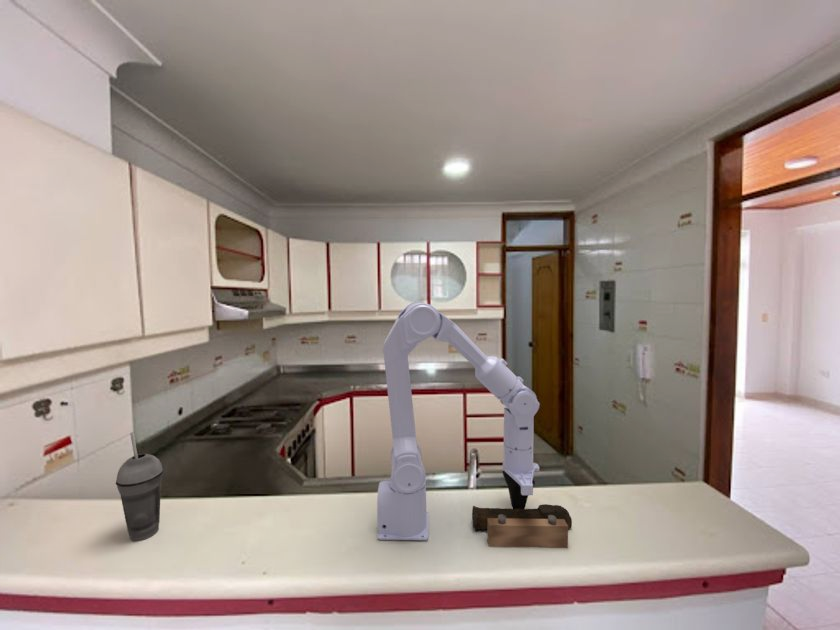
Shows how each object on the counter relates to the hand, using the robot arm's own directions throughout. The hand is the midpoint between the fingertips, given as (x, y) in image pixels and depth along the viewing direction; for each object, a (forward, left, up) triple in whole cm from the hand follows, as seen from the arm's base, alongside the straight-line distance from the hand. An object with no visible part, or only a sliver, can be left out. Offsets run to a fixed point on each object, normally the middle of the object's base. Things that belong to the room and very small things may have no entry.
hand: (518, 509), depth 72 cm
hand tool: (0, -2, -2) cm, 3 cm away
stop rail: (0, -7, -2) cm, 7 cm away
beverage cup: (-73, -6, -2) cm, 73 cm away
